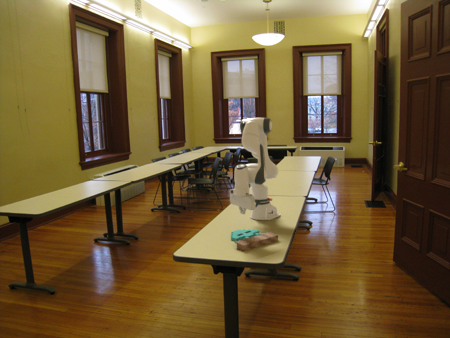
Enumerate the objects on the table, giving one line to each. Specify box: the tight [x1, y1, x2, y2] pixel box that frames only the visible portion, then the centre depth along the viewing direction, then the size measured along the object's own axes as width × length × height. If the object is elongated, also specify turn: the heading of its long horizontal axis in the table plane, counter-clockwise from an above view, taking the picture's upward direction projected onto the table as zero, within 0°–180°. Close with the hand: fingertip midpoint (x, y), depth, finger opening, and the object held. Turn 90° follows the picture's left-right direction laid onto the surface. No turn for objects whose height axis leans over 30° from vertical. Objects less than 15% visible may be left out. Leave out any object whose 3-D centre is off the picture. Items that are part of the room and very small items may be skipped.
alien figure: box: [230, 228, 264, 242], centre depth 220 cm, size 20×2×20 cm
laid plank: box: [234, 231, 279, 252], centre depth 207 cm, size 26×8×3 cm, turn 127°
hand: (242, 213), depth 221 cm, fingers closed
